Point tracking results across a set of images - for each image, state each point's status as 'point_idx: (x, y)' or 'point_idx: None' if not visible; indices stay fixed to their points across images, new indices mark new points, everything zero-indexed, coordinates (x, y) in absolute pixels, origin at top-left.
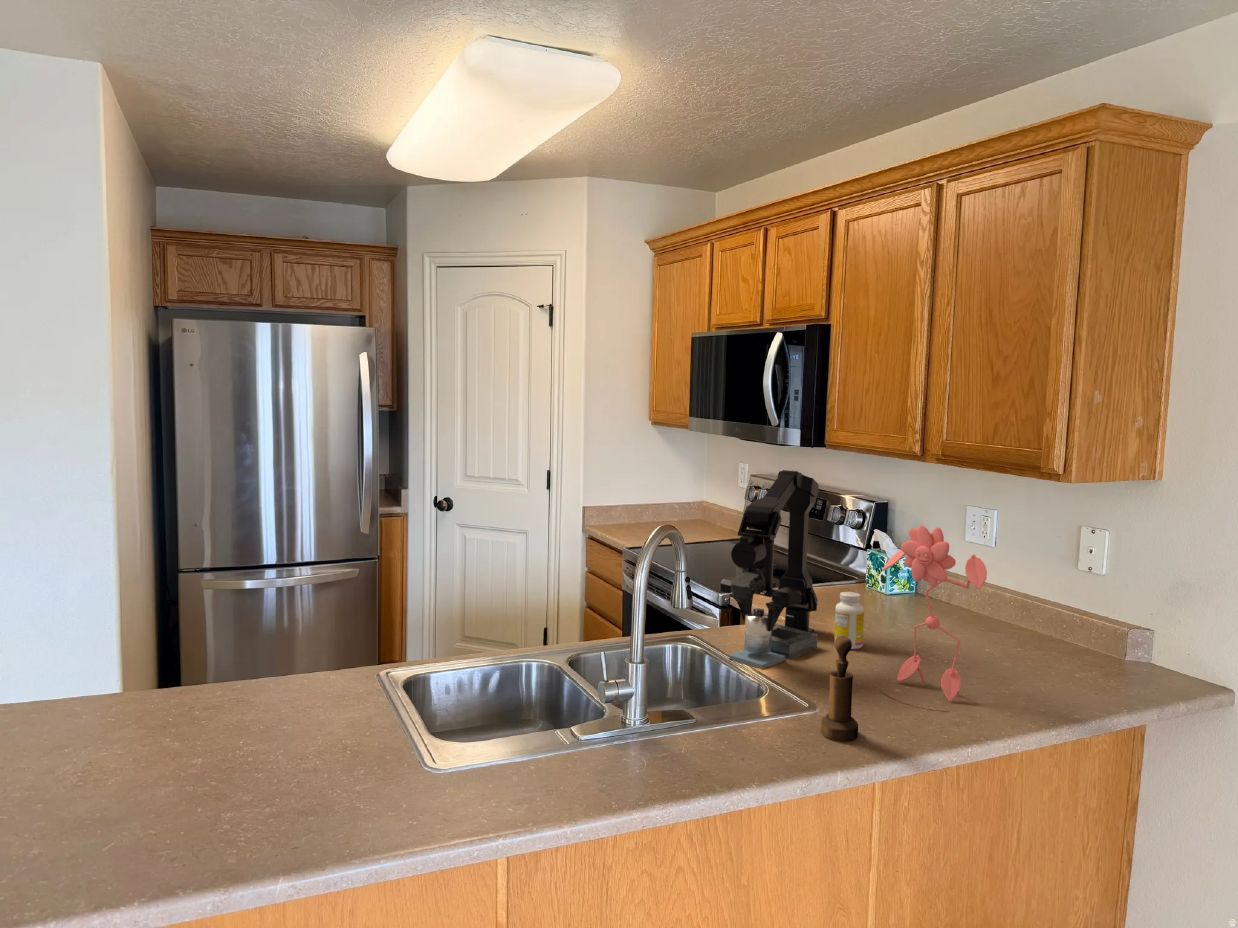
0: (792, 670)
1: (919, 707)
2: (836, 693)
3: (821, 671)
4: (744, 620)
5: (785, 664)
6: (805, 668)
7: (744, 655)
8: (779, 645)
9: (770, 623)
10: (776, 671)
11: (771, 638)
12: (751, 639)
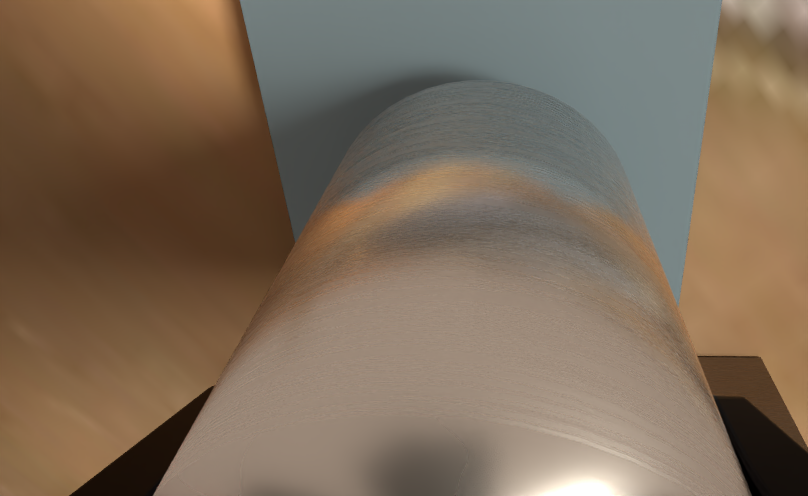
0: (116, 185)
1: None
2: None
3: (24, 314)
4: (774, 446)
5: (254, 256)
6: (115, 289)
7: (575, 93)
8: None
9: (95, 477)
10: (149, 57)
11: None
12: (435, 147)
